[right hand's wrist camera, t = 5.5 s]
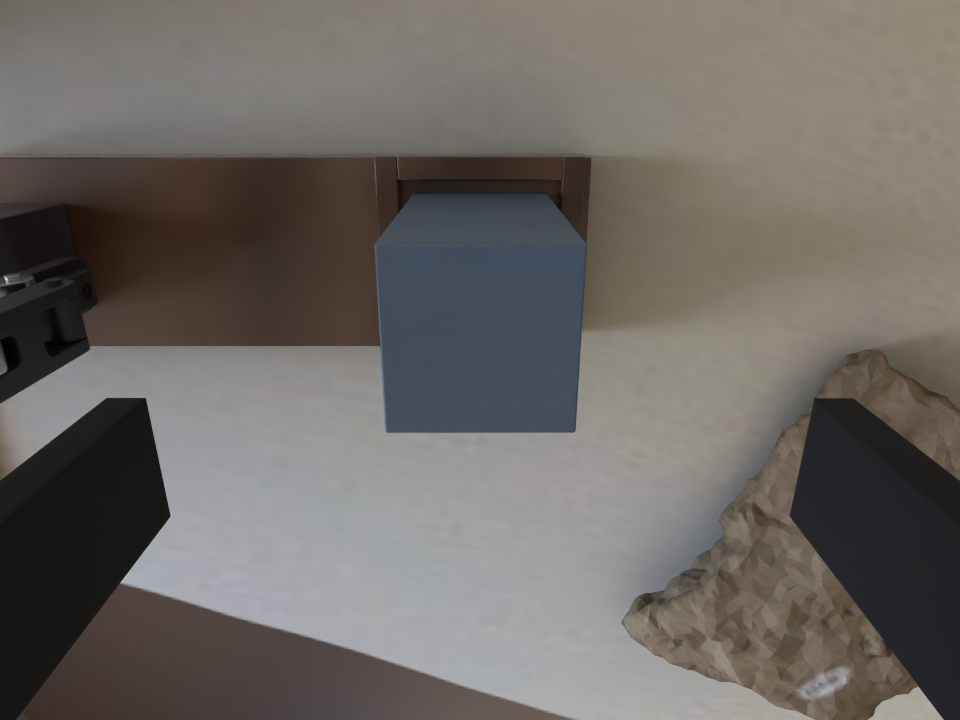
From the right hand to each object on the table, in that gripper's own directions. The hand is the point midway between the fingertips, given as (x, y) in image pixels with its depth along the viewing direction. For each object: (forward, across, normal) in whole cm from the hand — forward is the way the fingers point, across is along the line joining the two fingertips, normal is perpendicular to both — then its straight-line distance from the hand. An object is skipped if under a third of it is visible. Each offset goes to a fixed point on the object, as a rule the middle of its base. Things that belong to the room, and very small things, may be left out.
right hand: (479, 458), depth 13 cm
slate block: (+19, 0, 0) cm, 19 cm away
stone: (+21, -20, +16) cm, 33 cm away
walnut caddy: (+21, +9, 0) cm, 23 cm away
